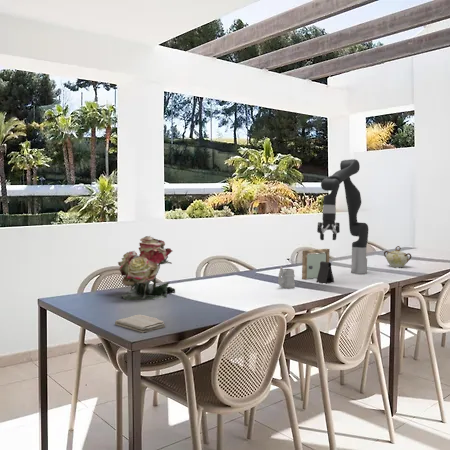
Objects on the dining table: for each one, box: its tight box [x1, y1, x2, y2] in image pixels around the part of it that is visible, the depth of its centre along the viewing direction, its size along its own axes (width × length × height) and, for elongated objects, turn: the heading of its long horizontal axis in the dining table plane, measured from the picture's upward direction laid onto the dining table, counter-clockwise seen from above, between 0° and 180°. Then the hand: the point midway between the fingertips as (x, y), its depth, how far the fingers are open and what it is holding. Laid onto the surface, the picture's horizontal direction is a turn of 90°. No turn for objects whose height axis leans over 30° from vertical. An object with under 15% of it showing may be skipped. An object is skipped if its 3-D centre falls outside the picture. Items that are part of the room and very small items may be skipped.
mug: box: [277, 266, 296, 289], centre depth 274 cm, size 8×12×12 cm, turn 133°
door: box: [306, 253, 326, 280], centre depth 305 cm, size 15×3×15 cm, turn 121°
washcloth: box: [114, 313, 166, 334], centre depth 193 cm, size 12×18×3 cm, turn 51°
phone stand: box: [316, 261, 335, 284], centre depth 291 cm, size 9×6×12 cm, turn 128°
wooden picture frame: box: [301, 248, 330, 280], centre depth 306 cm, size 20×2×18 cm, turn 121°
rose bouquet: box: [117, 235, 176, 301], centre depth 248 cm, size 26×29×30 cm
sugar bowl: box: [383, 245, 412, 268], centre depth 356 cm, size 20×15×15 cm
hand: (328, 240), depth 293 cm, fingers open, 8 cm apart
